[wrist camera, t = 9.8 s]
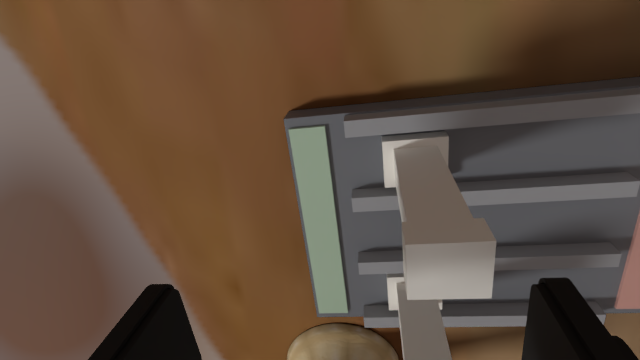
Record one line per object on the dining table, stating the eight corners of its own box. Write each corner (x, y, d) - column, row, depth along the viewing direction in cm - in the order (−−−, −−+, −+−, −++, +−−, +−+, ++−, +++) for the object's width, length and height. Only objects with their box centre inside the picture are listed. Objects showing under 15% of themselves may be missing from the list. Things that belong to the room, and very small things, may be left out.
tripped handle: (445, 131, 18) (508, 234, 10) (444, 176, 19) (501, 303, 11) (381, 136, 18) (394, 239, 10) (384, 180, 19) (397, 305, 11)
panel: (699, 70, 17) (750, 81, 15) (634, 293, 22) (664, 326, 20) (289, 110, 20) (279, 125, 18) (320, 300, 25) (315, 329, 23)
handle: (440, 266, 21) (484, 424, 13) (439, 299, 22) (480, 463, 14) (386, 268, 22) (398, 421, 14) (388, 300, 23) (400, 460, 15)
